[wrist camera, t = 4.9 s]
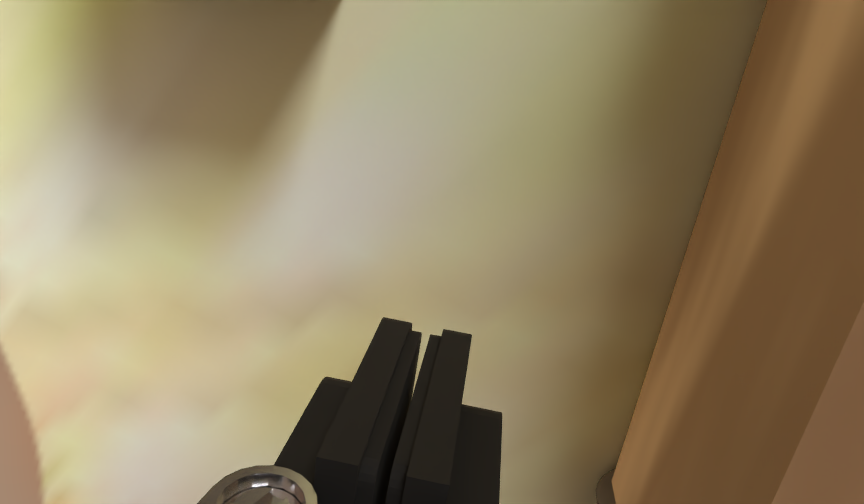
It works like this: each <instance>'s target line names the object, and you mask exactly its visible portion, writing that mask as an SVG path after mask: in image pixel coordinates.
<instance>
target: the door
mask: <svg viewBox="0 0 864 504" xmlns="http://www.w3.org/2000/svg"><path fill="white" fill-rule="evenodd" d="M596 496H597V502H598V504H864V0H767V3H766V6H765V9H764V12H763V16H762V19H761V22H760V25H759V28H758V31H757V34H756V37H755V40H754V43H753V46H752V49H751V53H750V56H749V59H748V62H747V65H746V68H745V71H744V74H743V77H742V80H741V83H740V86H739V90H738V93H737V96H736V99H735V102H734V105H733V108H732V111H731V114H730V117H729V120H728V123H727V127H726V130H725V133H724V136H723V139H722V142H721V145H720V148H719V151H718V154H717V157H716V160H715V164H714V167H713V170H712V173H711V176H710V179H709V182H708V185H707V188H706V191H705V194H704V197H703V201H702V204H701V207H700V210H699V213H698V216H697V219H696V222H695V225H694V228H693V231H692V234H691V238H690V241H689V244H688V247H687V250H686V253H685V256H684V259H683V262H682V265H681V268H680V271H679V275H678V278H677V281H676V284H675V287H674V290H673V293H672V296H671V299H670V302H669V305H668V308H667V312H666V315H665V318H664V321H663V324H662V327H661V330H660V333H659V336H658V339H657V342H656V345H655V349H654V352H653V355H652V358H651V361H650V364H649V367H648V370H647V373H646V376H645V379H644V382H643V386H642V389H641V392H640V395H639V398H638V401H637V404H636V407H635V410H634V413H633V416H632V419H631V423H630V426H629V429H628V432H627V435H626V438H625V441H624V444H623V447H622V450H621V453H620V456H619V460H618V463H617V466H616V469H615V470H612V471H610V472H608V473H607V474H605V475H604V476H603V477H602V478H601V479H600V481H599V482H598V485H597V488H596Z"/></svg>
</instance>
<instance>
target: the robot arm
mask: <svg viewBox="0 0 864 504" xmlns="http://www.w3.org/2000/svg"><path fill="white" fill-rule="evenodd" d="M421 336H422V333H421V332H416V331H412V323H410V322H405V321H400V320H394V319H389V318H384V317H383V319H382V320H381V322H380V324H379V327H378V329H377V331H376V333H375V335H374V337H373V339H372V341H371V343H370V345H369V348H368V350H367V352H366V354H365V356H364V358H363V360H362V362H361V364H360V366H359V368H358V371H357V373H356V375H355V377H354V379H353V381H352V382H350V381H345V380H340V379H335V378H331V377H325V378H324V379H323V380H322V381H321V383H320V385H319V386H318V388H317V390H316V392H315V393H314V395H313V397H312V399H311V401H310V402H309V404H308V406H307V408H306V409H305V411H304V413H303V415H302V416H301V418H300V420H299V422H298V423H297V425H296V427H295V429H294V431H293V432H292V434H291V436H290V438H289V439H288V441H287V443H286V445H285V446H284V448H283V450H282V452H281V453H280V455H279V457H278V459H277V460H276V462H275V464H274V465H270V466H253V467H249V468H244V469H240V470H238V471H236V472H234V473H232V474H229V475H227V476H225V477H224V478H223V479H222V480H220V481H219V482H218V483H217V484H215V485H214V486H213V487H212V488H211V489H210V490H209V491H208V492H207V494H206V495H205V496H204V497H203V498H202V499H201V500H200V501H199V502H198V503H197V504H499V491H500V464H501V438H502V413H501V412H496V411H492V410H487V409H482V408H477V407H472V406H467V405H462V398H463V391H464V384H465V378H466V371H467V365H468V358H469V351H470V345H471V338H472V335H471V334H466V333H461V332H456V331H451V330H445V329H443V332H442V336H436V335H430V338H429V341H428V345H427V348H426V352H425V355H424V358H423V362H422V365H421V369H420V372H419V376H418V379H417V383H416V386H415V390H414V393H413V386H414V380H415V374H416V368H417V361H418V355H419V349H420V343H421ZM412 393H413V396H412ZM411 399H412V400H411Z"/></svg>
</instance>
